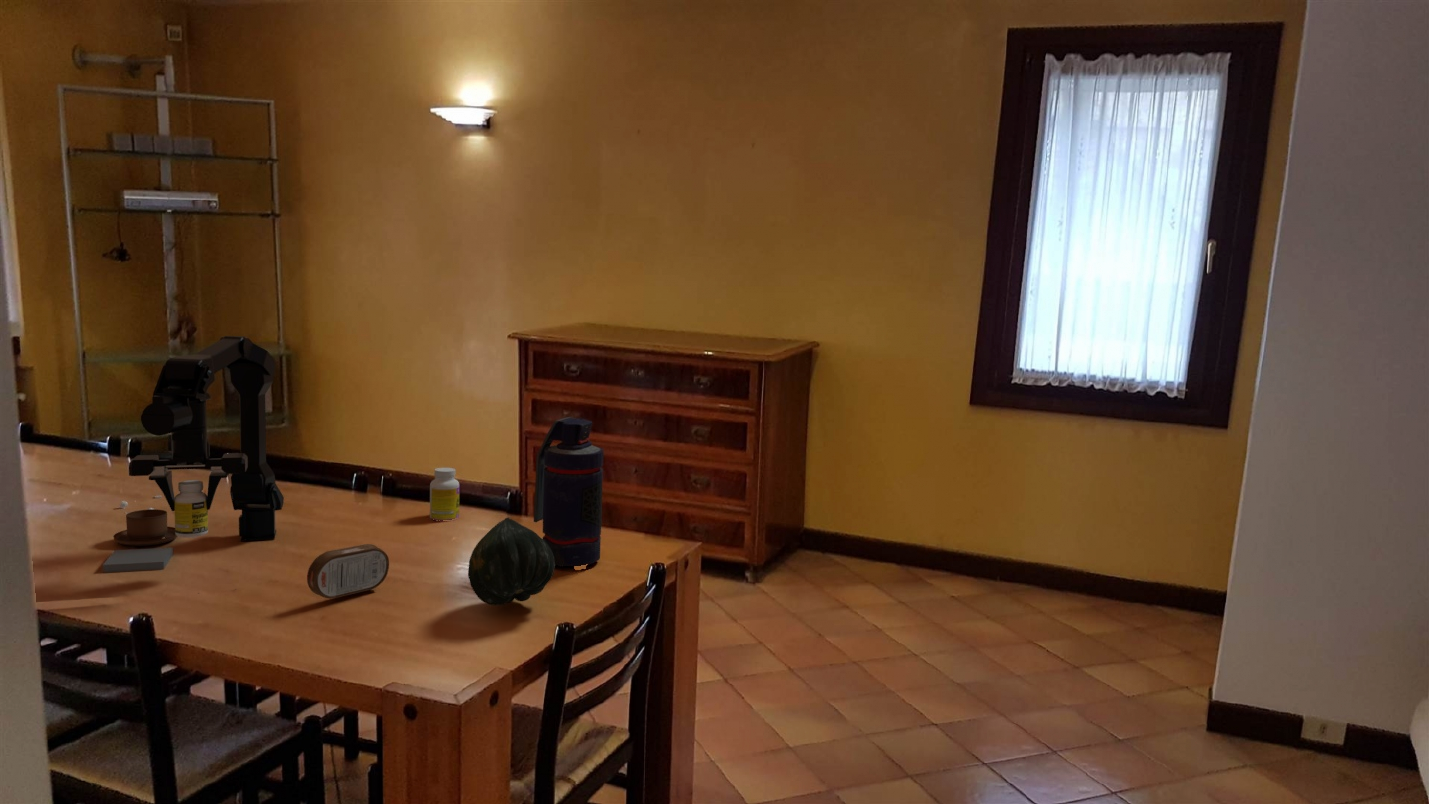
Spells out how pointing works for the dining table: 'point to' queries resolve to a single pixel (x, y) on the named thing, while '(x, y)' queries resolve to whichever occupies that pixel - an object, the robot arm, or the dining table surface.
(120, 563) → the charcoal block
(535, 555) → the squash
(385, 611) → the dining table surface
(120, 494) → the dining table surface
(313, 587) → the tin
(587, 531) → the grenade
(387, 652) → the dining table surface
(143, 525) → the cup and saucer
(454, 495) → the supplement bottle
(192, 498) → the supplement bottle
